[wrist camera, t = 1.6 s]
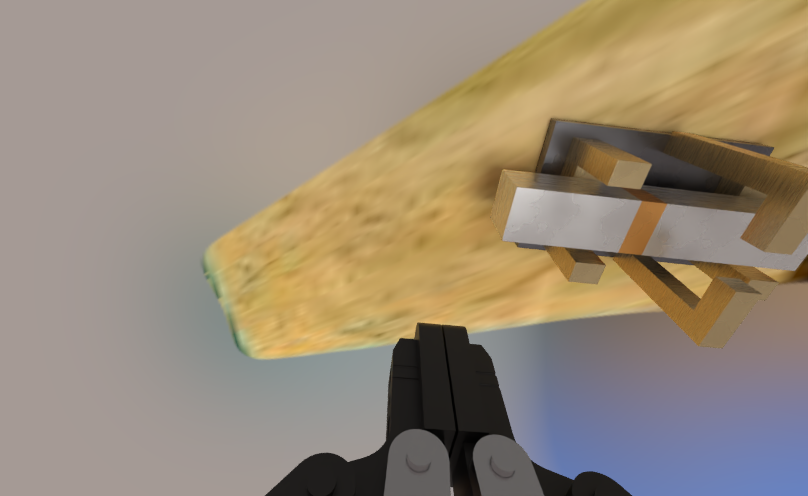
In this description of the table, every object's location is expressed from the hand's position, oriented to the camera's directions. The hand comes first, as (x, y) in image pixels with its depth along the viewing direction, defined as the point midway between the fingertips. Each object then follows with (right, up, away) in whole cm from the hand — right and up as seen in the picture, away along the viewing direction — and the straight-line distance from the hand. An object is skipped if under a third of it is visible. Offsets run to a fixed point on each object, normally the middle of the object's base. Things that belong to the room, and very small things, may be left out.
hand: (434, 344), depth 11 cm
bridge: (+18, +7, +17) cm, 26 cm away
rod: (+15, +6, +14) cm, 22 cm away
